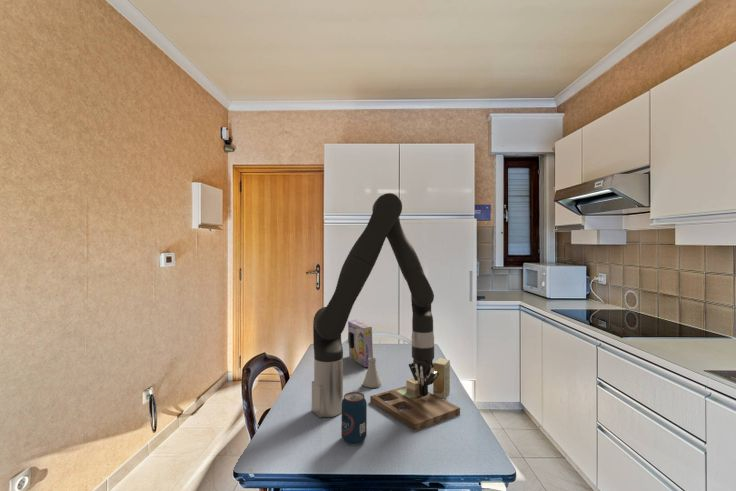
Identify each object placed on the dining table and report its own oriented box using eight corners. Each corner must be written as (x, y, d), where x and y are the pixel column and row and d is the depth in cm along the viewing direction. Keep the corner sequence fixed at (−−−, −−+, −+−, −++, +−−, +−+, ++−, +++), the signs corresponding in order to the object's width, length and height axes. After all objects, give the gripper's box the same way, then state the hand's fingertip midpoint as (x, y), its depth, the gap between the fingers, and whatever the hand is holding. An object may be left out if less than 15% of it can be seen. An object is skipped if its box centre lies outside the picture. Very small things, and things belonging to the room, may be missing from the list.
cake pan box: (347, 356, 172) (347, 319, 172) (356, 354, 174) (356, 318, 174) (363, 368, 155) (363, 327, 155) (373, 366, 157) (373, 326, 157)
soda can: (336, 439, 98) (336, 396, 98) (354, 430, 103) (354, 389, 103) (353, 449, 93) (353, 404, 93) (371, 439, 98) (371, 396, 98)
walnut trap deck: (415, 431, 103) (415, 424, 103) (370, 401, 122) (370, 396, 122) (460, 414, 113) (460, 407, 113) (412, 389, 133) (412, 384, 133)
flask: (379, 389, 133) (380, 362, 133) (360, 387, 134) (361, 361, 134) (382, 382, 140) (382, 356, 140) (364, 380, 141) (364, 355, 141)
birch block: (414, 397, 121) (414, 383, 121) (406, 392, 125) (406, 379, 125) (424, 394, 124) (424, 381, 124) (416, 389, 127) (416, 377, 127)
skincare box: (438, 390, 132) (438, 357, 132) (450, 393, 130) (450, 359, 130) (432, 396, 126) (432, 362, 126) (444, 399, 124) (444, 364, 124)
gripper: (445, 346, 117) (445, 399, 117) (418, 338, 128) (418, 386, 128) (428, 350, 112) (428, 405, 112) (401, 341, 123) (402, 391, 123)
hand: (423, 395), depth 120 cm, fingers closed
